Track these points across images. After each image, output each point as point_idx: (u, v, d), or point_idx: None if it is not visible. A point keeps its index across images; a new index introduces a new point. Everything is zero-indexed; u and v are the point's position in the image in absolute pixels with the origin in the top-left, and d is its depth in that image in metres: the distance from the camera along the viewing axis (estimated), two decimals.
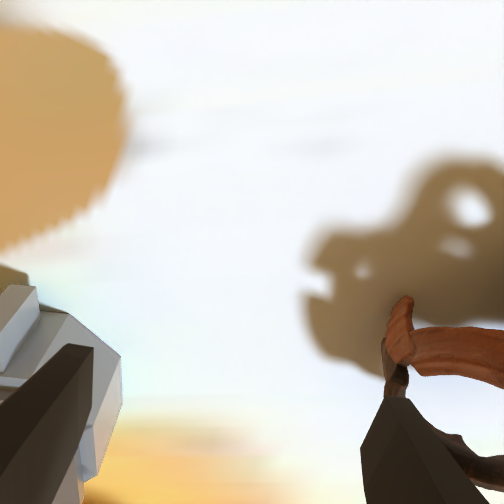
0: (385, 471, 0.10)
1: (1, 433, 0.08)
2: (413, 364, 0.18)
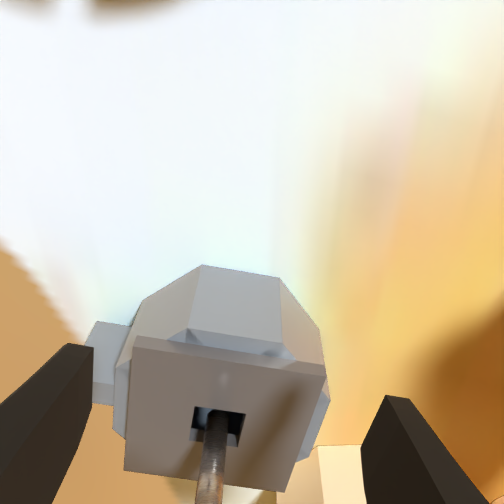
0: (385, 471, 0.10)
1: (1, 433, 0.08)
2: None
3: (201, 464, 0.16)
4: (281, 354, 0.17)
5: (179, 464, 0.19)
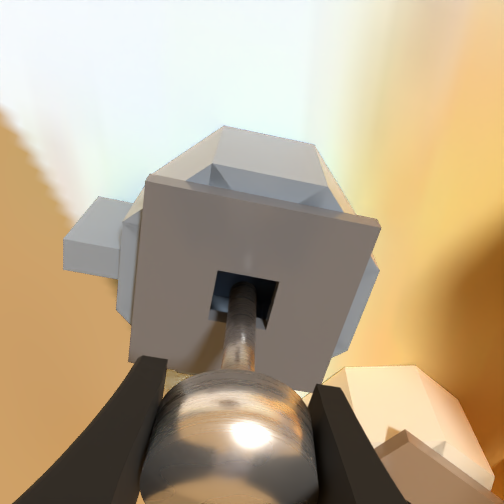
0: None
1: (104, 448, 0.08)
2: None
3: (227, 330, 0.13)
4: (325, 202, 0.14)
5: (195, 354, 0.16)
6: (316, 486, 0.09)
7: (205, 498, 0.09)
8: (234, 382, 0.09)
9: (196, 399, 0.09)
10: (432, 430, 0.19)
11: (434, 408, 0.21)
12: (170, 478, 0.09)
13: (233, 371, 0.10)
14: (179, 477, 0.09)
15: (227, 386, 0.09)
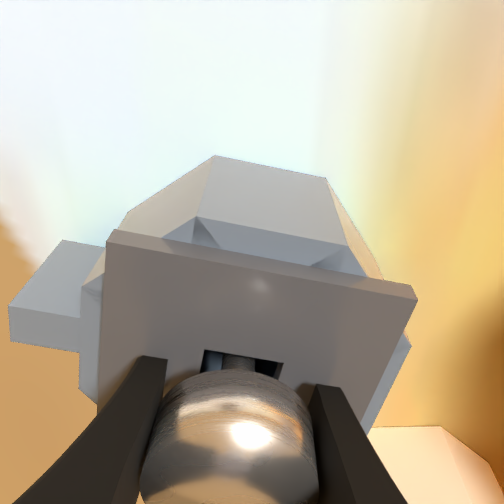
0: None
1: (104, 448, 0.08)
2: None
3: None
4: (344, 265, 0.11)
5: None
6: (316, 487, 0.09)
7: (205, 498, 0.09)
8: (235, 383, 0.09)
9: (196, 399, 0.09)
10: None
11: (466, 484, 0.17)
12: (170, 478, 0.09)
13: (233, 371, 0.10)
14: (180, 477, 0.09)
15: (227, 386, 0.09)
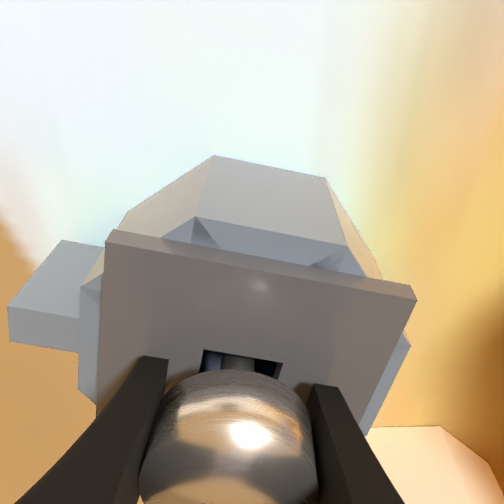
0: None
1: (106, 449, 0.08)
2: None
3: None
4: (343, 265, 0.11)
5: None
6: (315, 486, 0.09)
7: (204, 499, 0.09)
8: (234, 382, 0.09)
9: (195, 399, 0.09)
10: None
11: (465, 484, 0.17)
12: (169, 478, 0.09)
13: (232, 371, 0.10)
14: (179, 477, 0.09)
15: (226, 386, 0.09)
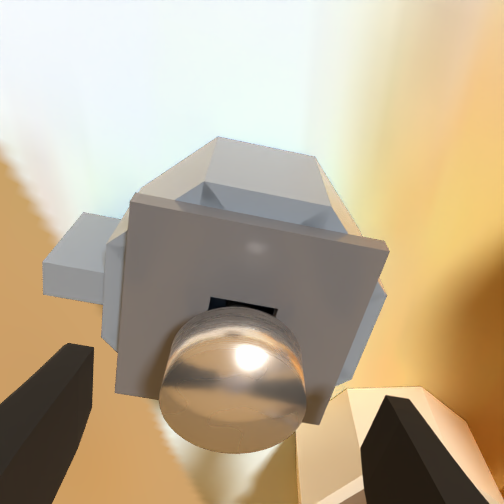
0: (385, 471, 0.10)
1: (1, 433, 0.08)
2: None
3: None
4: (328, 223, 0.13)
5: None
6: (304, 398, 0.11)
7: (213, 411, 0.11)
8: (237, 315, 0.11)
9: (205, 328, 0.11)
10: None
11: (442, 434, 0.19)
12: (184, 392, 0.11)
13: (236, 308, 0.12)
14: (192, 391, 0.11)
15: (231, 318, 0.11)
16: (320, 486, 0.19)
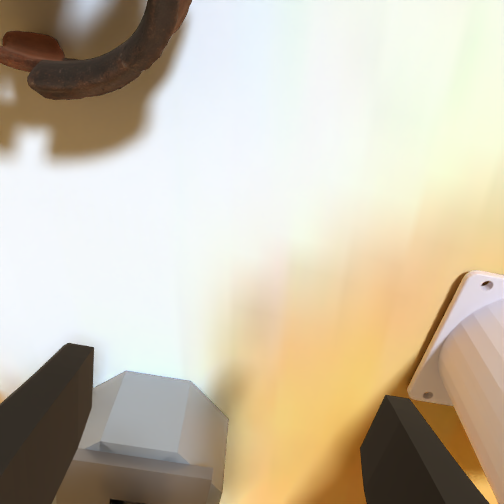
0: (385, 471, 0.10)
1: (1, 433, 0.08)
2: None
3: None
4: (177, 460, 0.21)
5: None
6: None
7: None
8: None
9: None
10: None
11: None
12: None
13: None
14: None
15: None
16: None
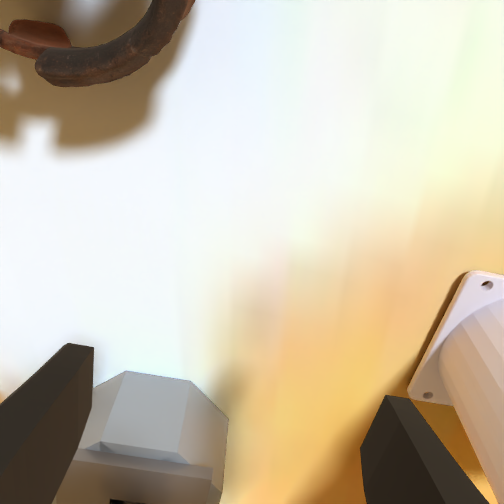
0: (385, 471, 0.10)
1: (1, 433, 0.08)
2: None
3: None
4: (177, 460, 0.21)
5: None
6: None
7: None
8: None
9: None
10: None
11: None
12: None
13: None
14: None
15: None
16: None
